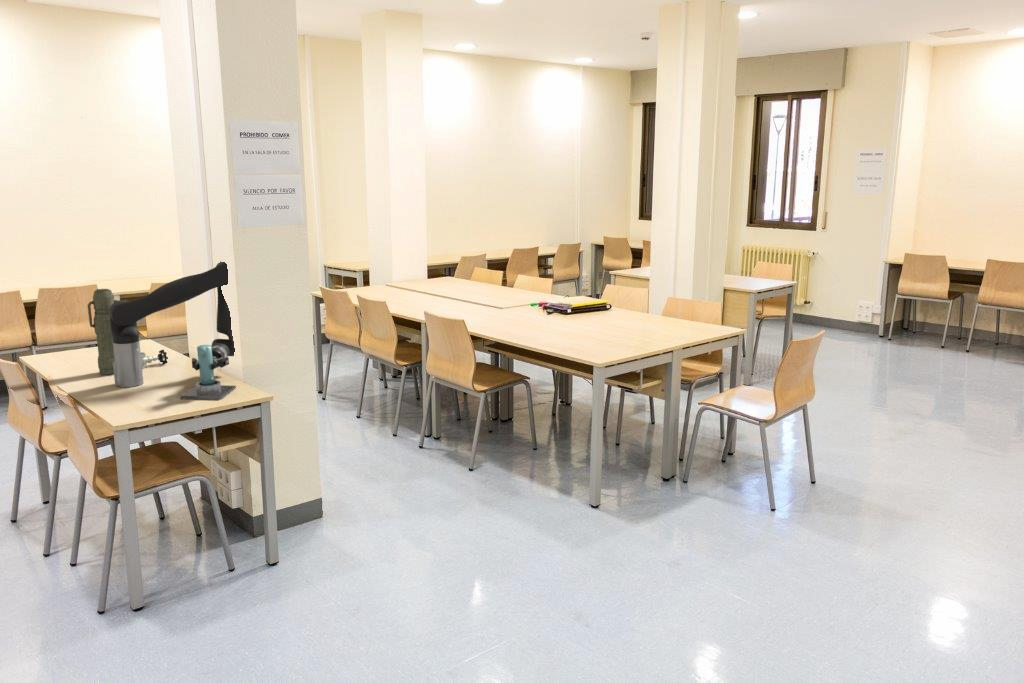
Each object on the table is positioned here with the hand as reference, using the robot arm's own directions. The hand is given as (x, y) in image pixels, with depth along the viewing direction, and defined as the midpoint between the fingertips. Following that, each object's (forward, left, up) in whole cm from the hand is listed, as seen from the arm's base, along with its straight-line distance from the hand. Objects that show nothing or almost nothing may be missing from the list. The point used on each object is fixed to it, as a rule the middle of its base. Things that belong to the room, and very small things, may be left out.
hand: (204, 367), depth 288 cm
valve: (-42, +42, -11) cm, 61 cm away
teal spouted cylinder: (-1, +3, -8) cm, 9 cm away
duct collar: (0, +3, -11) cm, 11 cm away
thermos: (-53, +31, -11) cm, 63 cm away
